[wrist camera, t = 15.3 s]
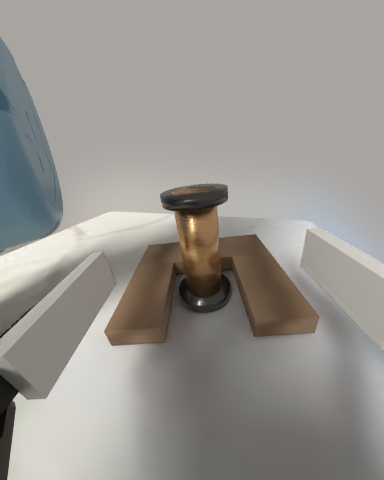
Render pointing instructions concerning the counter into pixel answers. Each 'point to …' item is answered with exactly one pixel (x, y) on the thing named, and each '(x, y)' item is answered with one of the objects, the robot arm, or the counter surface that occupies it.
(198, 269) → the bobbin
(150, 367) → the counter surface
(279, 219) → the counter surface
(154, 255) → the notched board
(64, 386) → the counter surface
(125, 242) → the counter surface
